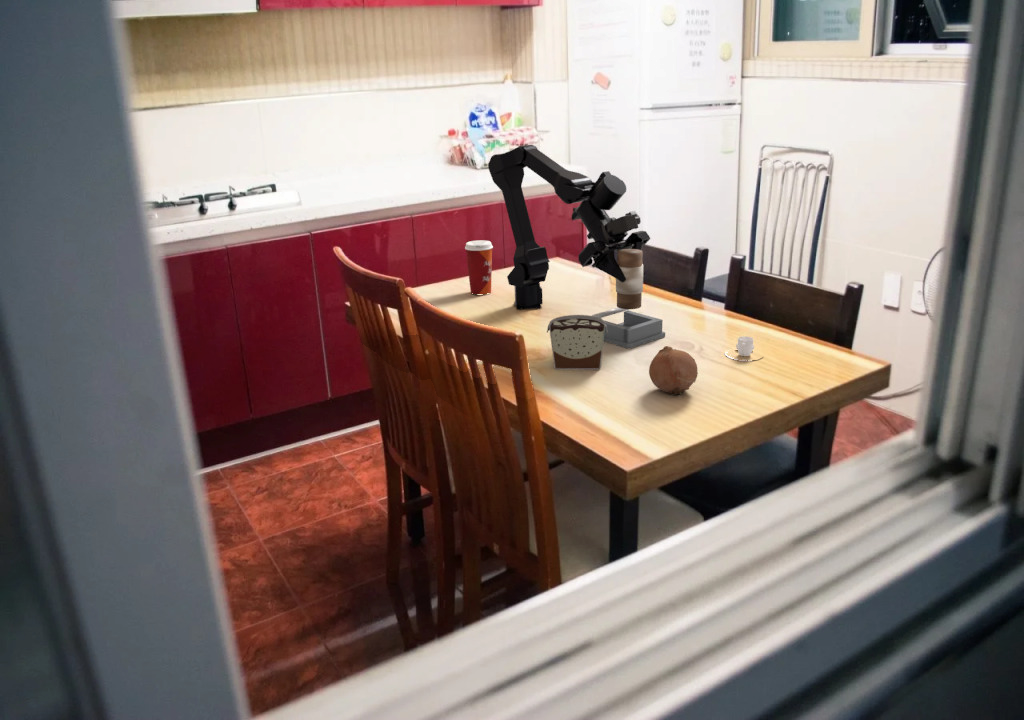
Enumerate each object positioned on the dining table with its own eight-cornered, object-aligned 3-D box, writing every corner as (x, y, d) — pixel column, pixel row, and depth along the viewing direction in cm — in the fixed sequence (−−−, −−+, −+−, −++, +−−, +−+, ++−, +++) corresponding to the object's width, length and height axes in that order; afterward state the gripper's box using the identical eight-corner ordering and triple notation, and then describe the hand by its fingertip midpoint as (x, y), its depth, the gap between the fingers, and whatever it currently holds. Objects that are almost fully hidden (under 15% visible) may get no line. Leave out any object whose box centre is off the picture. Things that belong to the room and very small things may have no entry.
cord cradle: (589, 336, 190) (589, 314, 188) (626, 325, 197) (627, 304, 196) (628, 349, 181) (628, 326, 180) (665, 336, 188) (666, 314, 187)
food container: (607, 359, 176) (607, 313, 172) (607, 369, 170) (607, 322, 167) (549, 359, 177) (548, 314, 174) (547, 369, 171) (546, 323, 168)
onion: (657, 400, 162) (644, 352, 162) (702, 388, 160) (690, 340, 160) (655, 401, 153) (642, 351, 153) (703, 389, 151) (690, 338, 152)
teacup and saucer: (739, 347, 181) (740, 329, 180) (772, 355, 176) (774, 336, 175) (717, 357, 176) (718, 339, 174) (750, 366, 170) (752, 347, 169)
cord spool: (614, 309, 186) (615, 254, 182) (617, 301, 192) (617, 248, 187) (641, 310, 185) (642, 254, 180) (643, 302, 190) (644, 248, 186)
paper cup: (494, 296, 225) (492, 245, 221) (466, 297, 226) (463, 246, 221) (495, 288, 233) (493, 239, 228) (468, 289, 233) (465, 240, 228)
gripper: (587, 206, 177) (625, 265, 173) (644, 195, 189) (682, 250, 185) (562, 237, 186) (597, 294, 182) (618, 225, 197) (653, 278, 193)
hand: (634, 278), depth 185 cm, fingers closed on cord spool, 6 cm apart
